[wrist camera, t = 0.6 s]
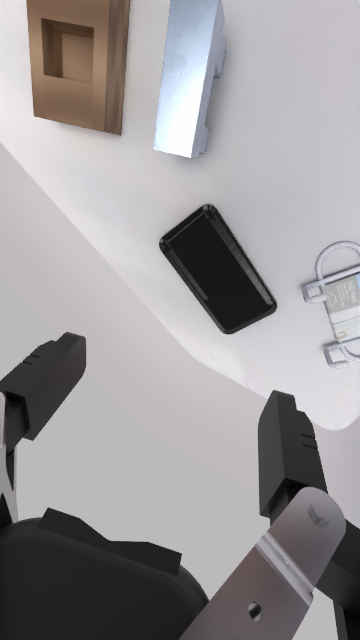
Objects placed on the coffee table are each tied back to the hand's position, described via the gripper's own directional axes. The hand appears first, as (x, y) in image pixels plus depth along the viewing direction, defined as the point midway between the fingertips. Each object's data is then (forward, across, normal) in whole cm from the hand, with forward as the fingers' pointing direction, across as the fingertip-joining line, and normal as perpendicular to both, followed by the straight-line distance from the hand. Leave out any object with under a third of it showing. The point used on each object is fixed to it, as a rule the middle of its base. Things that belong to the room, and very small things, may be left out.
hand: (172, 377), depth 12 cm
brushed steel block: (+24, +5, -12) cm, 27 cm away
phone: (+24, -1, +4) cm, 25 cm away
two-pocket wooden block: (+24, +16, -16) cm, 33 cm away
